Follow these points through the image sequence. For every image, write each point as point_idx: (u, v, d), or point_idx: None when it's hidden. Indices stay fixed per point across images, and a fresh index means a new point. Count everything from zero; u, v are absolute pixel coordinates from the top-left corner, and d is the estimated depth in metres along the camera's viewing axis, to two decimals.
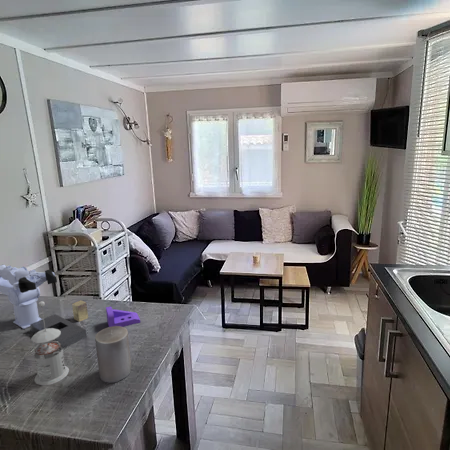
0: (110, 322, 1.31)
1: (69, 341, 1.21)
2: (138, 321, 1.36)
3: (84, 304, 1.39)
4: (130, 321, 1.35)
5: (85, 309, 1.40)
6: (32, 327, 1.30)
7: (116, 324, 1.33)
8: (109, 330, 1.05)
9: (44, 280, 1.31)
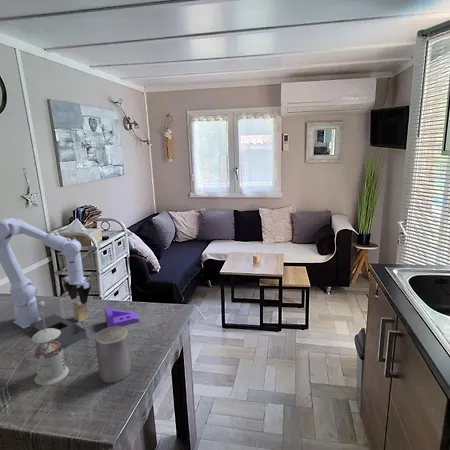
0: (109, 322, 1.32)
1: (69, 341, 1.21)
2: (137, 320, 1.37)
3: (84, 304, 1.39)
4: (129, 320, 1.35)
5: (85, 309, 1.40)
6: (32, 327, 1.30)
7: (115, 324, 1.33)
8: (109, 330, 1.05)
9: None
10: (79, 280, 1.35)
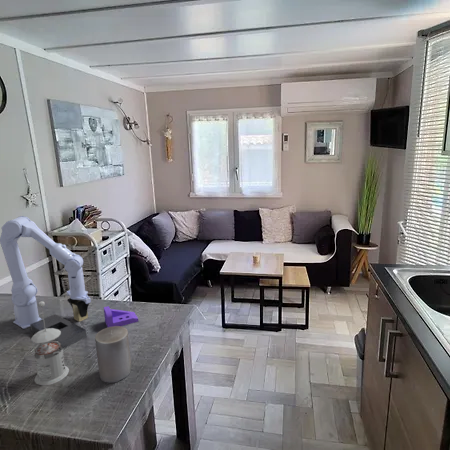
0: (108, 322, 1.32)
1: (69, 341, 1.21)
2: (136, 320, 1.37)
3: None
4: (128, 320, 1.36)
5: None
6: (32, 327, 1.30)
7: (114, 323, 1.33)
8: (109, 330, 1.05)
9: None
10: (81, 295, 1.37)
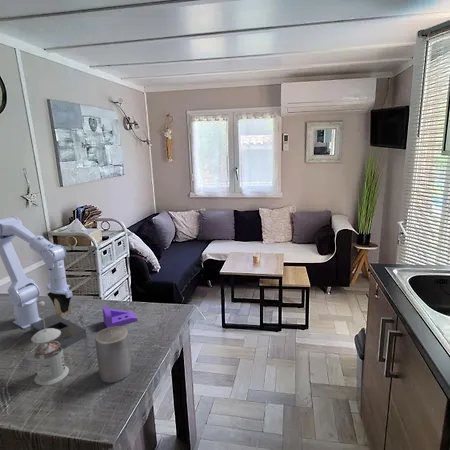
0: (108, 322, 1.32)
1: (69, 341, 1.21)
2: (135, 320, 1.38)
3: None
4: (127, 320, 1.36)
5: None
6: (32, 327, 1.30)
7: (114, 323, 1.33)
8: (109, 330, 1.05)
9: None
10: (62, 288, 1.27)
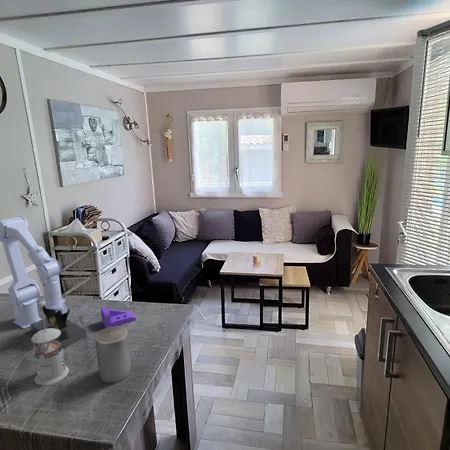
0: (106, 321, 1.32)
1: (69, 341, 1.21)
2: (134, 319, 1.38)
3: None
4: (126, 319, 1.36)
5: None
6: (32, 327, 1.30)
7: (112, 323, 1.33)
8: (109, 330, 1.05)
9: None
10: (57, 304, 1.25)
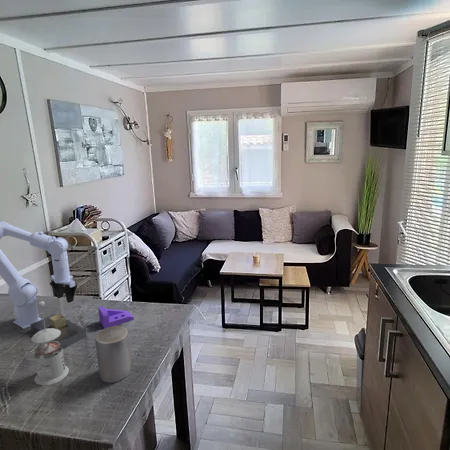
0: (105, 321, 1.32)
1: (69, 341, 1.21)
2: (132, 318, 1.39)
3: (62, 318, 1.28)
4: (124, 319, 1.37)
5: (63, 324, 1.29)
6: (32, 327, 1.30)
7: (111, 323, 1.34)
8: (109, 330, 1.05)
9: None
10: (65, 279, 1.34)
